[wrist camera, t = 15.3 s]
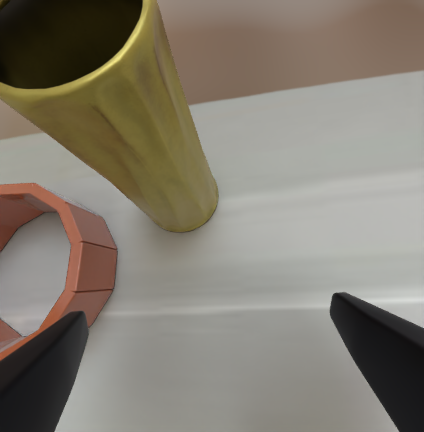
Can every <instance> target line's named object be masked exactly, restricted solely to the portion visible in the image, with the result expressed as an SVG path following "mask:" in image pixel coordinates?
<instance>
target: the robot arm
mask: <svg viewBox="0 0 424 432" xmlns="http://www.w3.org/2000/svg"><path fill="white" fill-rule="evenodd" d="M330 316H331V319H332V320H333V322H334V324H335V326H336V328H337V330H338V332H339V334H340V336H341V338H342V340H343V342H344V343H345V345H346V347H347V349H348V351H349V353H350V355H351V356H352V358H353V360H354V361H355V363H356V365H357V366H358V368H359V369H360V371H361V372H362V374H363V376H364V377H365V379H366V380H367V382H368V383H369V385H370V387H371V388H372V390H373V391H374V393H375V394H376V396H377V397H378V399H379V401H380V402H381V404H382V405H383V407H384V408H385V410H386V412H387V413H388V415H389V416H390V418H391V419H392V421H393V422H394V424H395V426H396V427H397V429H398V430H399V432H424V328H422V327H420V326H418V325H415V324H413V323H411V322H409V321H407V320H405V319H402V318H400V317H398V316H396V315H394V314H391V313H389V312H387V311H385V310H383V309H381V308H378V307H376V306H374V305H372V304H370V303H367V302H365V301H363V300H361V299H359V298H356V297H354V296H352V295H350V294H348V293H345V292H340V293H334V294H333V296H332V301H331V306H330ZM88 335H89V329H88V324H87V319H86V314H85V312H84V311H72V312H70V313H68V314H67V315H65V316H64V317H62V318H61V319H59V320H58V321H57V322H55V323H54V324H52V325H51V326H49V327H48V328H47V329H45V330H44V331H42V332H41V333H39V334H38V335H36V336H35V337H34V338H32V339H31V340H29V341H28V342H26V343H25V344H24V345H22V346H21V347H19V348H18V349H16V350H15V351H14V352H12V353H11V354H9V355H8V356H6V357H5V358H3V359H2V360H1V361H0V432H54V431H55V429H56V426H57V424H58V422H59V419H60V417H61V414H62V412H63V410H64V407H65V405H66V402H67V400H68V397H69V395H70V393H71V390H72V387H73V385H74V382H75V379H76V375H77V372H78V369H79V366H80V362H81V359H82V356H83V352H84V349H85V346H86V342H87V339H88Z"/></svg>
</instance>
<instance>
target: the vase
mask: <svg viewBox="0 0 424 432" xmlns="http://www.w3.org/2000/svg"><path fill="white" fill-rule="evenodd" d="M0 99H1V100H2V101H3V102H5V103H6V104H7V105H9V106H10V107H11V108H13V109H14V110H16V111H17V112H18V113H19V114H21V115H22V116H23V117H25V118H26V119H27V120H29V121H30V122H32V123H33V124H34V125H36V126H37V127H38V128H40V129H41V130H42V131H44V132H45V133H46V134H48V135H49V136H50V137H52V138H53V139H54V140H56V141H57V142H58V143H60V144H61V145H62V146H64V147H65V148H66V149H67V150H69V151H70V152H71V153H72V154H74V155H75V156H76V157H78V158H79V159H80V160H82V161H83V162H84V163H86V164H87V165H88V166H90V167H91V168H92V169H94V170H95V171H97V172H98V173H99V174H100V175H102V176H103V177H104V178H106V179H107V180H108V181H110V182H111V183H112V184H113V185H114V186H115V187H117V188H118V189H119V190H120V191H121V192H122V193H123V194H124V195H125V196H126V197H127V198H129V199H130V200H131V201H132V202H133V203H134V204H135V205H136V206H138V207H139V208H140V209H141V210H142V211H143V212H145V213H146V214H147V215H148V216H149V217H150V218H151V219H152V220H153V221H154V222H155V223H156V224H157V225H159V226H160V227H162V228H163V229H165V230H168V231H172V232H186V231H191V230H193V229H196V228H198V227H200V226H201V225H203V224H204V223H205V222H206V221H207V220H208V219H209V218H210V217H211V216H212V214H213V212H214V210H215V208H216V206H217V202H218V188H217V184H216V181H215V179H214V178H213V176H212V174H211V171H210V168H209V165H208V163H207V160H206V157H205V155H204V152H203V150H202V147H201V144H200V140H199V137H198V134H197V131H196V128H195V125H194V122H193V119H192V116H191V113H190V110H189V107H188V104H187V101H186V98H185V95H184V92H183V89H182V86H181V83H180V79H179V76H178V73H177V69H176V66H175V63H174V59H173V56H172V53H171V49H170V45H169V42H168V39H167V35H166V32H165V28H164V24H163V20H162V16H161V13H160V9H159V6H158V3H157V0H0Z"/></svg>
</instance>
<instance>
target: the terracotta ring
mask: <svg viewBox="0 0 424 432" xmlns="http://www.w3.org/2000/svg"><path fill="white" fill-rule="evenodd" d="M44 212H58V213H59V216H60V218H61V221H62V223H63V226H64V228H65V231H66V233H67V236H68V238H69V241H70V243H71V251H70V258H69V265H68V271H67V278H66V285H65V290H64V291H63V293H62V294H61V296H60V297H59V299H58V300H57V302H56V303H55V305H54V306H53V308H52V310H51V311H50V313H49V314H48V316H47V317H46V319H45V320H44V322H43V323H42V325H41V326H40V328H39V329H38V330H37V331H36V332H34V333H32V334H31V335H29V336H27V337H22V336H20V335H19V334H18V333H17V332H16V331H14V330H13V329H12V328H11V327H9V326H8V325H7V324H6V323H5V322H3V321H2V320H1V319H0V361H1V360H2V359H3V358H5V357H6V356H8V355H9V354H11V353H12V352H14V351H15V350H16V349H18V348H19V347H21V346H22V345H24V344H25V343H26V342H28V341H29V340H31V339H32V338H34V337H35V336H36V335H38V334H39V333H41V332H42V331H44V330H45V329H47V328H48V327H49V326H51V325H52V324H54V323H55V322H57V321H58V320H59V319H61V318H62V317H64V316H65V315H67V314H68V313H70V312H72V311H84V312H85V314H86V319H87V324H88V328H89V327H90V326H91V325H92V324H93V322H94V320H95V319H96V317H97V316H98V314H99V312H100V311H101V309H102V307H103V306H104V304H105V303H106V301H107V299H108V298H109V296H110V295H111V293H112V291H113V290H112V289H113V288H114V281H115V270H116V260H117V247H116V245H115V243H114V241H113V238H112V236H111V234H110V232H109V230H108V227H107V225H106V223H105V221H104V219H102V217H100V216H99V215H97V214H95V213H94V212H92V211H90V210H89V209H87V208H85V207H83V206H82V205H80V204H78V203H77V202H75V201H72V200H70V199H68V198H66V197H64V196H62V195H60V194H58V193H55V192H53V191H51V190H49V189H47V188H45V187H43V186H41V185H38V184H36V183H22V184H4V185H0V252H1V250H2V249H3V247H4V246H5V245H6V243H7V242H8V241H9V239H10V238H11V236H12V235H13V234H14V232H15V231H16V230H17V228H18V227H20V226H22V225H23V224H25V223H27V222H29V221H30V220H32V219H34V218H35V217H37V216H39V215H41V214H42V213H44Z"/></svg>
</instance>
